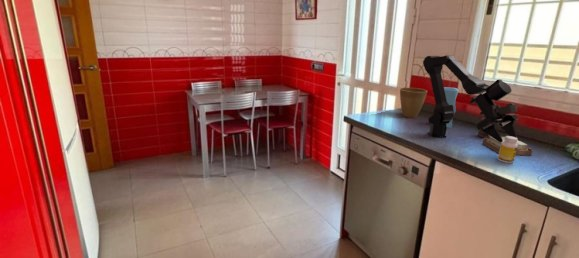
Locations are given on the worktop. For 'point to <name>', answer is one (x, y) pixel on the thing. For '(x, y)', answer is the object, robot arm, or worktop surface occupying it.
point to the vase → (451, 100)
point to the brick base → (496, 148)
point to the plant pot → (412, 101)
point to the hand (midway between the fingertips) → (508, 140)
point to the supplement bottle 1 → (483, 133)
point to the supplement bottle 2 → (508, 149)
